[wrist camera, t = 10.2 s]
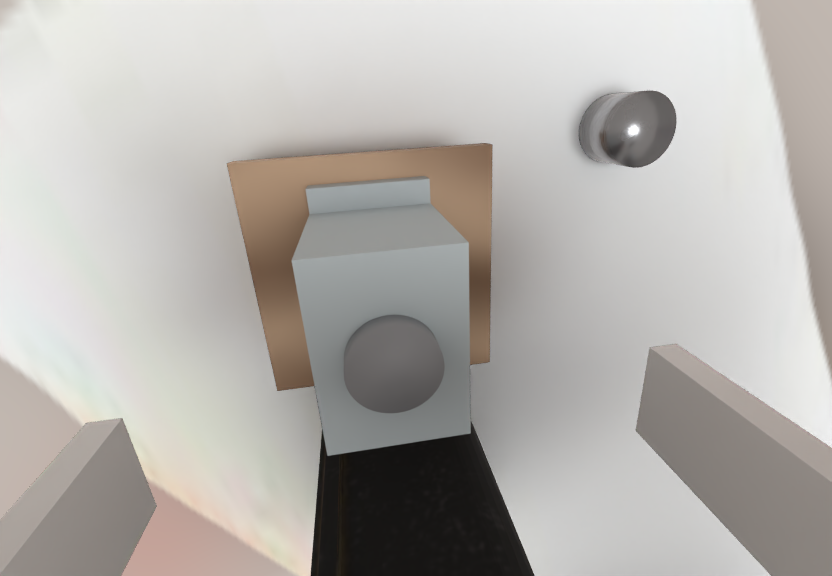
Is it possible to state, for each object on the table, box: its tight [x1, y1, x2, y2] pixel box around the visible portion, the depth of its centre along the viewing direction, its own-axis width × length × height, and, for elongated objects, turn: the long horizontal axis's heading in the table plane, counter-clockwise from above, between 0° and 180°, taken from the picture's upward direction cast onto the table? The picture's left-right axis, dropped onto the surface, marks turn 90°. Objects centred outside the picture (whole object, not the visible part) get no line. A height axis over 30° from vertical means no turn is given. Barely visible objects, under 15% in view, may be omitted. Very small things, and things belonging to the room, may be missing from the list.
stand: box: [227, 143, 492, 391], centre depth 22 cm, size 11×11×5 cm
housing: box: [292, 176, 471, 456], centre depth 16 cm, size 9×5×8 cm, turn 3°
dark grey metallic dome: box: [579, 91, 676, 167], centre depth 22 cm, size 4×4×3 cm
